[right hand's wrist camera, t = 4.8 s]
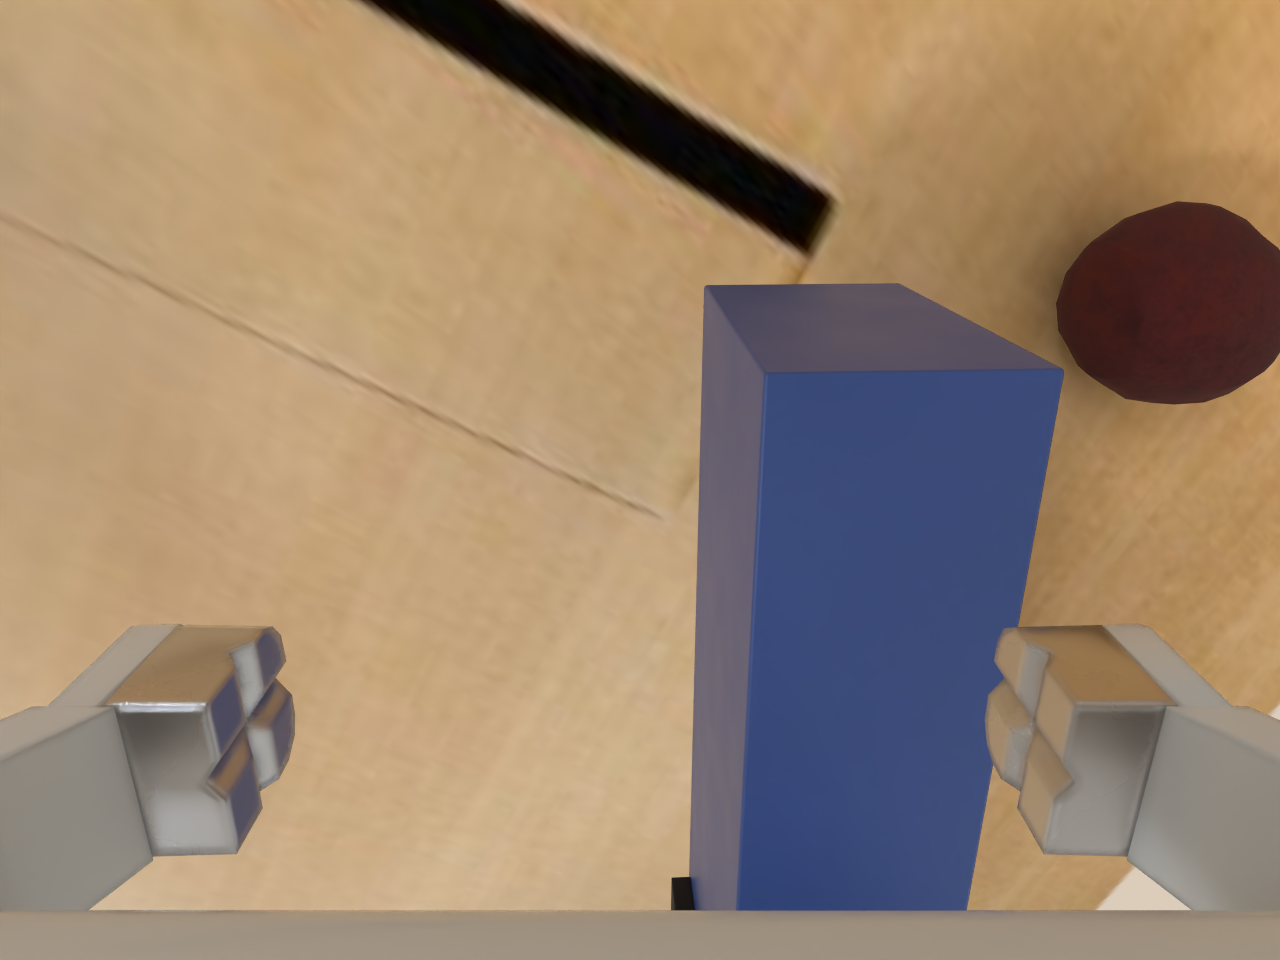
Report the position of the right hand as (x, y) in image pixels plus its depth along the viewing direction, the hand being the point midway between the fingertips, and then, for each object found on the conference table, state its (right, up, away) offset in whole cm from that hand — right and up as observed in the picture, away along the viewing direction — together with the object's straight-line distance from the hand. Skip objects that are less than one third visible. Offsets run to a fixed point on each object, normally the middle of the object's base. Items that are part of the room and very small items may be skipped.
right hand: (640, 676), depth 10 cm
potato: (+20, +10, +27) cm, 35 cm away
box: (+5, -4, +22) cm, 23 cm away
